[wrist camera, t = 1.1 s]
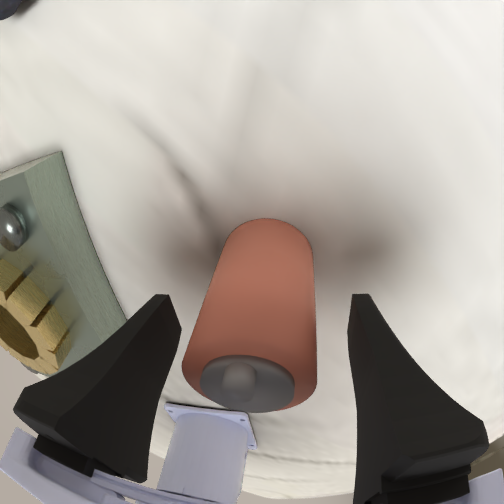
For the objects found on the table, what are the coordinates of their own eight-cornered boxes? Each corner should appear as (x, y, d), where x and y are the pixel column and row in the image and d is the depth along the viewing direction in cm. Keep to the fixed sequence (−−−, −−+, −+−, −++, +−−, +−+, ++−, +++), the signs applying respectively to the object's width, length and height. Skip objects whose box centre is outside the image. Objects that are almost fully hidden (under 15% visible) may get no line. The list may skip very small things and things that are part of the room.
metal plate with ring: (155, 372, 23) (135, 423, 18) (43, 349, 25) (22, 384, 21) (61, 150, 13) (-6, 190, 9) (-40, 191, 15) (-80, 222, 11)
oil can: (312, 292, 16) (313, 440, 9) (230, 292, 17) (193, 432, 10) (312, 216, 13) (321, 377, 7) (216, 220, 14) (150, 366, 7)
